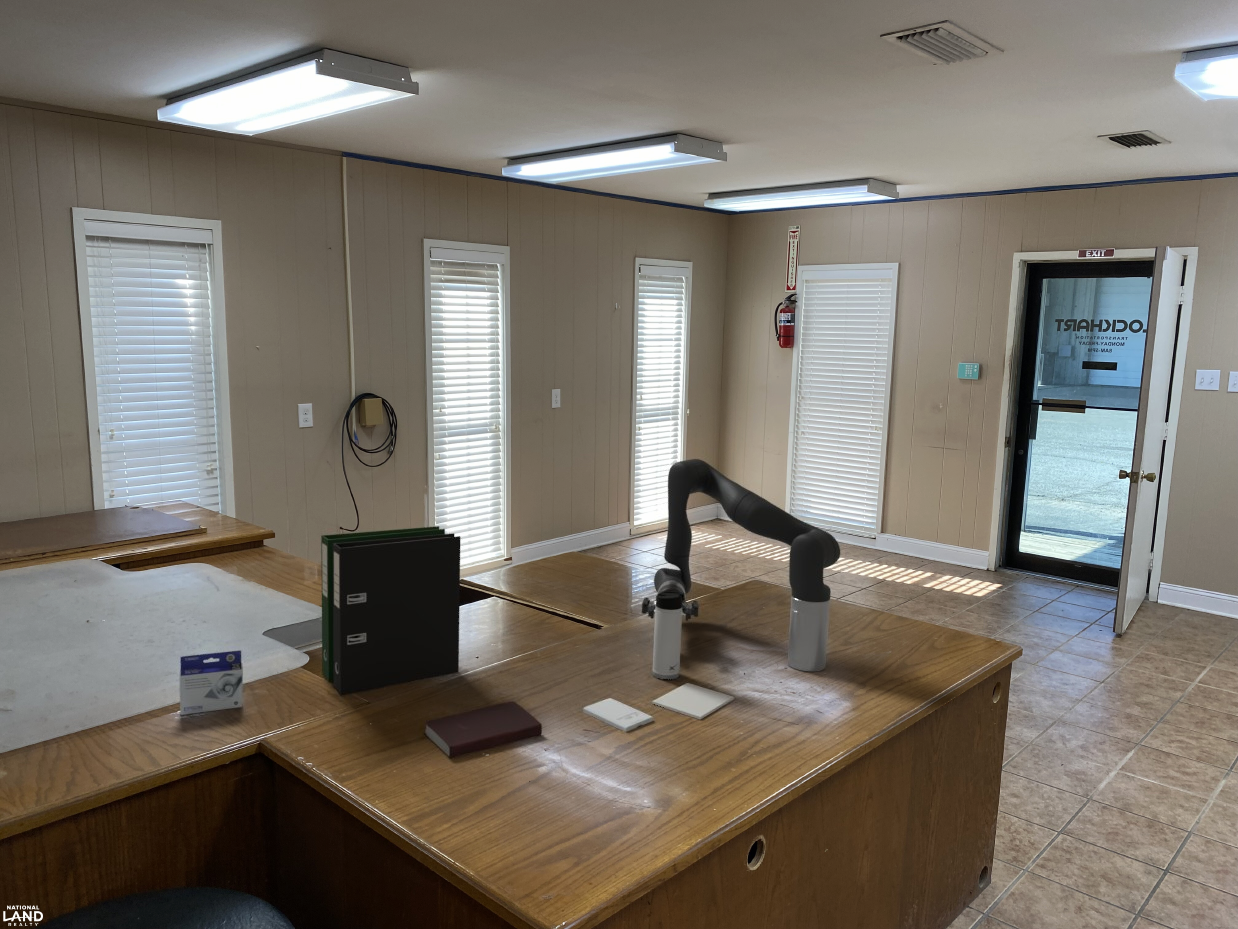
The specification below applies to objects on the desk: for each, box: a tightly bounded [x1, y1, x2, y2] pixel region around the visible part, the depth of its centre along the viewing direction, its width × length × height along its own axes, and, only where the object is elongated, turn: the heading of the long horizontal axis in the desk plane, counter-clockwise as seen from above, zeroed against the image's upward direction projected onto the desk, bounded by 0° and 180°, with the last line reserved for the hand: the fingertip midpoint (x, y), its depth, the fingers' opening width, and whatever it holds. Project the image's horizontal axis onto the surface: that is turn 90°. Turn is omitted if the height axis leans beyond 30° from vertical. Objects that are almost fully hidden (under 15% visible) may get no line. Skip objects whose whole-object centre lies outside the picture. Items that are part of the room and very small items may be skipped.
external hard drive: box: [582, 697, 654, 733], centre depth 176 cm, size 2×8×12 cm
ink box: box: [179, 649, 244, 716], centre depth 171 cm, size 12×2×12 cm, turn 117°
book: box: [423, 701, 543, 759], centre depth 165 cm, size 12×19×3 cm, turn 125°
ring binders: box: [320, 525, 462, 697], centre depth 192 cm, size 27×15×32 cm, turn 124°
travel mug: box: [651, 591, 686, 681], centre depth 198 cm, size 6×7×20 cm
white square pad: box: [651, 682, 734, 720], centre depth 185 cm, size 14×12×1 cm
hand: (669, 615), depth 209 cm, fingers open, 8 cm apart
